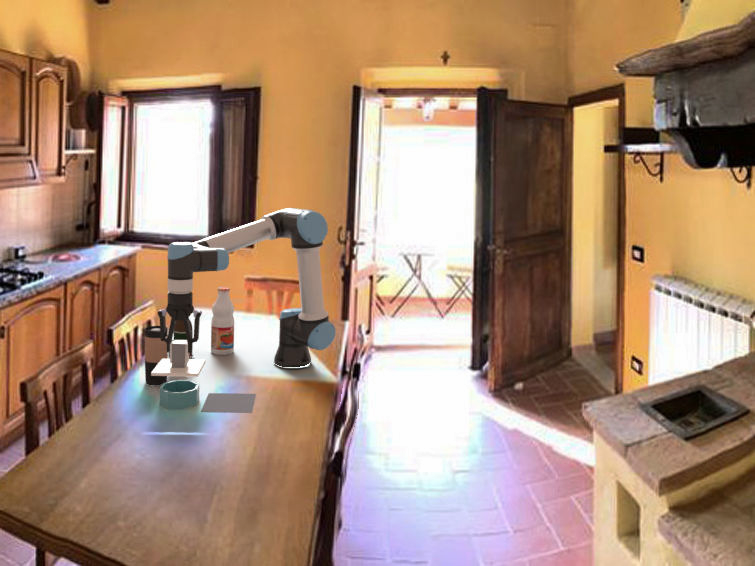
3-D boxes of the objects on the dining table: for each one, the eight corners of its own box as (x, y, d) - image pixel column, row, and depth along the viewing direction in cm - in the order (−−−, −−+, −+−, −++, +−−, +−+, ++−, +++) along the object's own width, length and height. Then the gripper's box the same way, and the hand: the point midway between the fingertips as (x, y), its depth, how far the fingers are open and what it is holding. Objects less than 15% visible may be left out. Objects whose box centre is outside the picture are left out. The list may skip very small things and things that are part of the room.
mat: (256, 395, 196) (256, 393, 196) (251, 414, 180) (251, 412, 180) (208, 394, 194) (208, 393, 194) (200, 413, 178) (200, 412, 178)
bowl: (201, 397, 191) (201, 380, 190) (194, 410, 180) (194, 393, 179) (165, 396, 190) (165, 379, 189) (156, 410, 178) (156, 392, 177)
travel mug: (148, 378, 205) (148, 325, 202) (170, 378, 206) (170, 326, 202) (141, 385, 198) (141, 330, 194) (164, 386, 198) (164, 331, 195)
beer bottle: (189, 359, 229) (189, 301, 224) (170, 357, 229) (170, 300, 224) (195, 353, 236) (196, 297, 232) (177, 352, 236) (177, 296, 232)
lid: (205, 362, 190) (205, 336, 189) (197, 376, 177) (198, 349, 175) (162, 361, 189) (162, 335, 187) (151, 375, 175) (151, 347, 173)
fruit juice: (219, 347, 246) (220, 284, 241) (238, 351, 243) (239, 287, 238) (206, 353, 238) (207, 288, 233) (224, 356, 234) (226, 291, 229)
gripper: (209, 290, 183) (208, 359, 187) (155, 287, 181) (155, 357, 185) (205, 295, 176) (204, 366, 180) (148, 292, 173) (148, 365, 177)
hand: (179, 361), depth 182 cm, fingers closed on lid, 4 cm apart
